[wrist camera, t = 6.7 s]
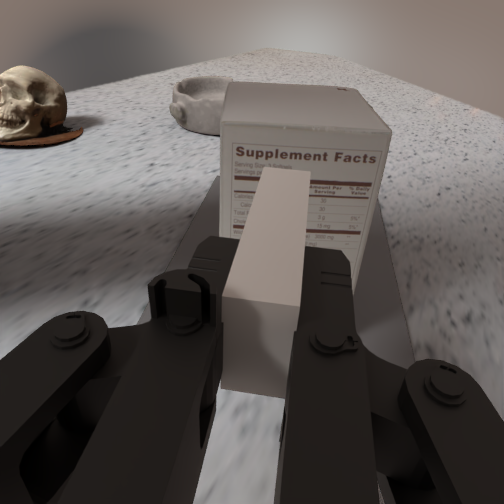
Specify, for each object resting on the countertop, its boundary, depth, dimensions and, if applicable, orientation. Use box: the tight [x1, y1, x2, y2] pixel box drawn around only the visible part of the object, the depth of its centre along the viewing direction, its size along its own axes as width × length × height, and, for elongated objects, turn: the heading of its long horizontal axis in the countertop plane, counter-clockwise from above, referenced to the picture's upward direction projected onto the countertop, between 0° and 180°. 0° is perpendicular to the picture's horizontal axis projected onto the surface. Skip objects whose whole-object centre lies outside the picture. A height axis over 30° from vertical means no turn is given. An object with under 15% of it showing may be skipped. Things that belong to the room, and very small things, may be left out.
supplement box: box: [219, 82, 392, 295], centre depth 23 cm, size 7×7×13 cm
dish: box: [169, 76, 233, 135], centre depth 58 cm, size 14×14×5 cm
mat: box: [137, 176, 415, 369], centre depth 32 cm, size 24×16×1 cm, turn 172°
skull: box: [0, 66, 83, 146], centre depth 51 cm, size 12×10×10 cm
